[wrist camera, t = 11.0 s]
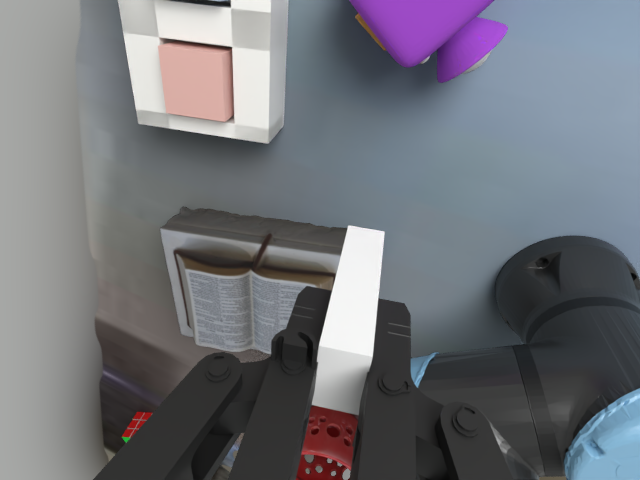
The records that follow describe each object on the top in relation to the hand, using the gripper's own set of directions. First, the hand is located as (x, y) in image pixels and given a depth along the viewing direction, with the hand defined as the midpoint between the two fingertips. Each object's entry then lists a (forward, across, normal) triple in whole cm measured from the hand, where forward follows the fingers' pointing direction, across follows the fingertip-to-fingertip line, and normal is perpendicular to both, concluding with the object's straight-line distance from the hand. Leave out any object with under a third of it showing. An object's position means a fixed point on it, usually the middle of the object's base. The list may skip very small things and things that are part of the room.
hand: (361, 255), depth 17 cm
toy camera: (+30, -2, -9) cm, 31 cm away
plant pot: (+30, 0, +55) cm, 62 cm away
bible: (+30, +12, +27) cm, 42 cm away
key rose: (+26, +18, 0) cm, 32 cm away
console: (+29, +18, -5) cm, 35 cm away
